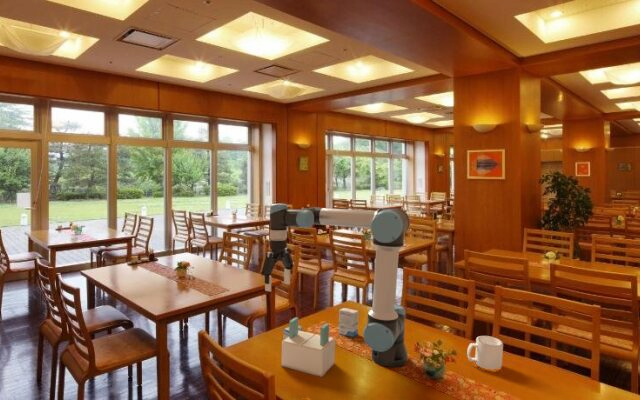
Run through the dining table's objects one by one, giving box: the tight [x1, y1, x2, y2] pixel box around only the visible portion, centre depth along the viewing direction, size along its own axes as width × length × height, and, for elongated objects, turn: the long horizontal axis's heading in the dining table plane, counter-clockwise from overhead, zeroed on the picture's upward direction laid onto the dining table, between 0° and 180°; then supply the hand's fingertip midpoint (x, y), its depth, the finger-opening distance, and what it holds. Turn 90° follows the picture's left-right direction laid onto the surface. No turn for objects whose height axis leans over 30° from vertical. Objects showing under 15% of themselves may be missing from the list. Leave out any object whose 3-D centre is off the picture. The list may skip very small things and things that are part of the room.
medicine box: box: [282, 324, 303, 342], centre depth 177 cm, size 8×4×9 cm, turn 141°
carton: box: [280, 339, 336, 378], centre depth 161 cm, size 18×12×10 cm, turn 65°
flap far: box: [282, 316, 315, 346], centre depth 162 cm, size 8×12×8 cm
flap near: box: [302, 322, 335, 351], centre depth 158 cm, size 8×12×8 cm
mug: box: [466, 335, 504, 370], centre depth 163 cm, size 14×10×11 cm
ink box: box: [338, 307, 359, 338], centre depth 193 cm, size 9×5×12 cm, turn 58°
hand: (277, 287), depth 174 cm, fingers open, 13 cm apart
